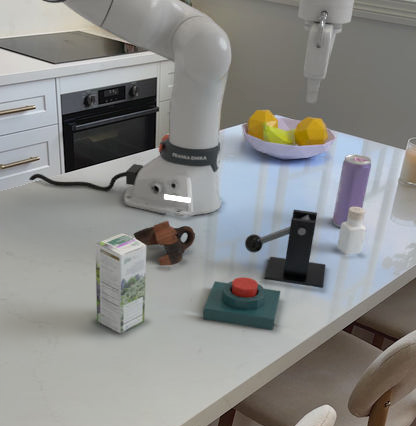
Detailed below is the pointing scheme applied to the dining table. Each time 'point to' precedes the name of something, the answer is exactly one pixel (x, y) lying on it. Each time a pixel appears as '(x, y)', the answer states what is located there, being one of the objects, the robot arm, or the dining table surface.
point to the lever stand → (298, 255)
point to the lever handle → (266, 238)
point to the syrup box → (120, 282)
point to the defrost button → (244, 287)
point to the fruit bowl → (287, 135)
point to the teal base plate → (242, 306)
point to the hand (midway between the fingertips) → (312, 95)
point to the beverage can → (351, 186)
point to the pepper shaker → (352, 232)
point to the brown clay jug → (167, 240)
